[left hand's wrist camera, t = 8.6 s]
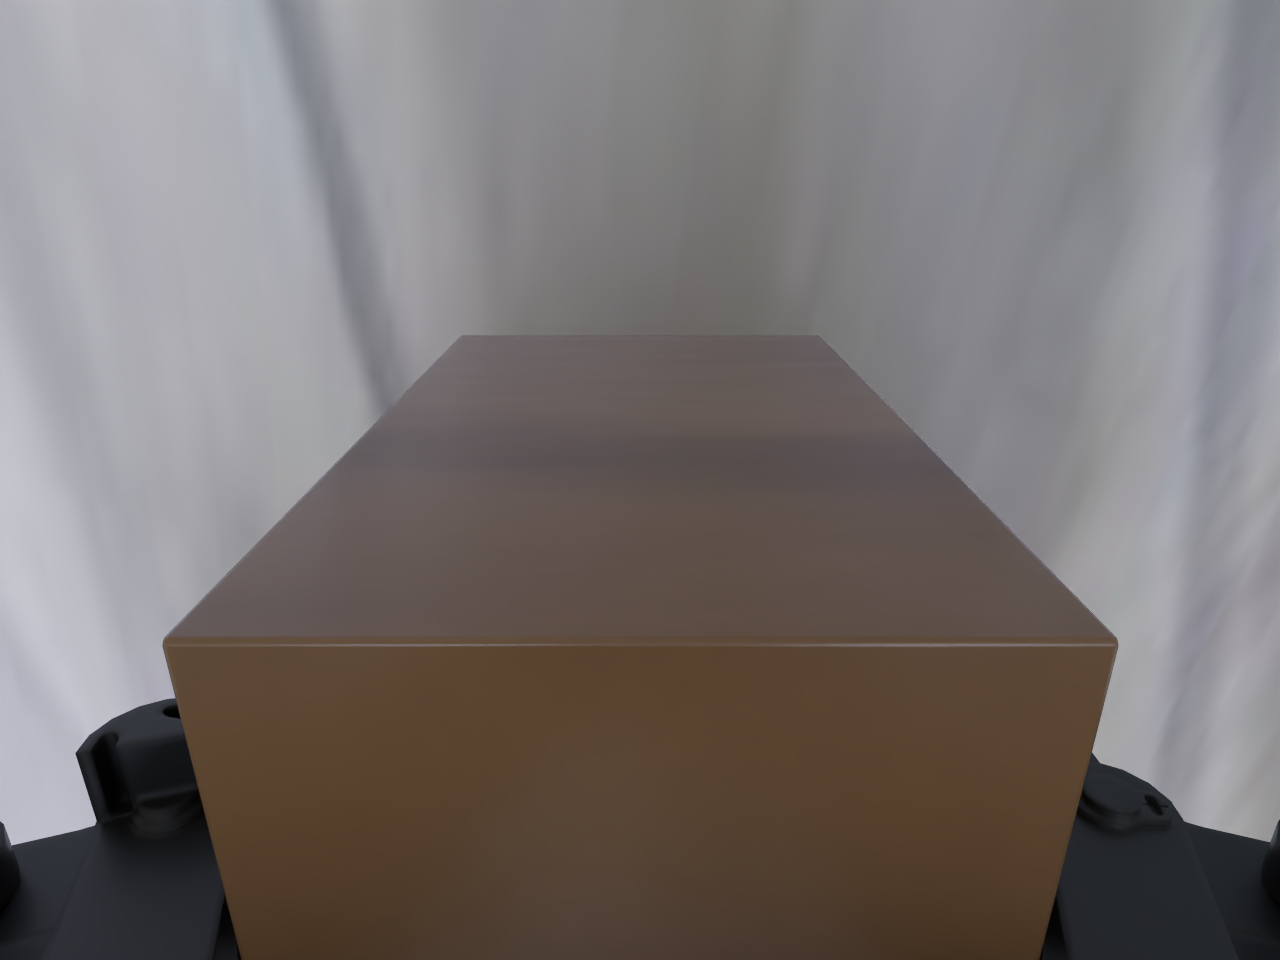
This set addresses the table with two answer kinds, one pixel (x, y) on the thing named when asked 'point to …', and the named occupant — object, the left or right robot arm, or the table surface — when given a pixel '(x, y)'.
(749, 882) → the box
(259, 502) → the table surface
